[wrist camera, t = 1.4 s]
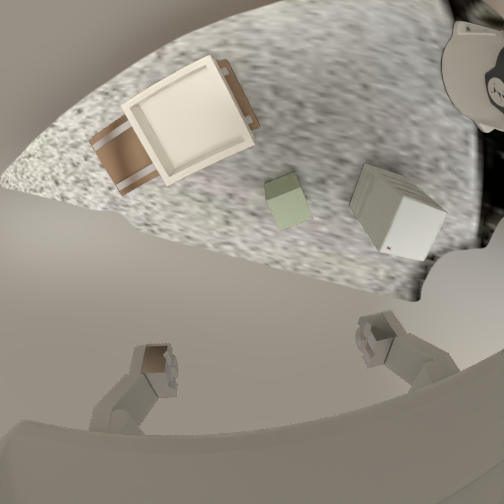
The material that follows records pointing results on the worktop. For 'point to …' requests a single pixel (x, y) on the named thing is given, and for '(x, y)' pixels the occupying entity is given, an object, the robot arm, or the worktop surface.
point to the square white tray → (189, 120)
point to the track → (132, 151)
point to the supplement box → (396, 213)
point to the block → (287, 201)
